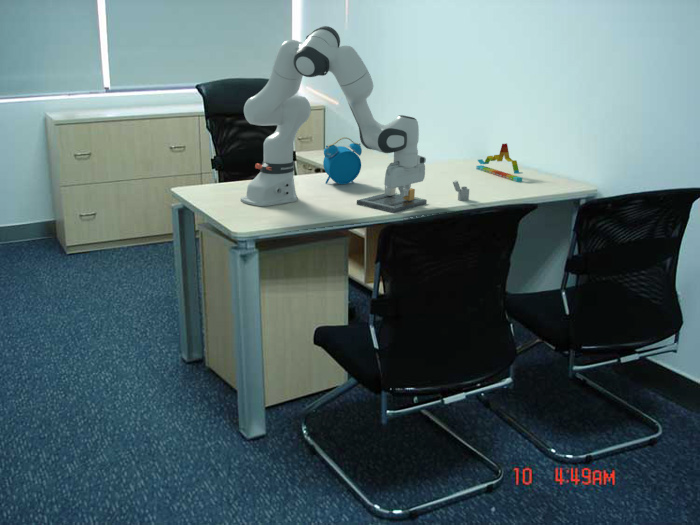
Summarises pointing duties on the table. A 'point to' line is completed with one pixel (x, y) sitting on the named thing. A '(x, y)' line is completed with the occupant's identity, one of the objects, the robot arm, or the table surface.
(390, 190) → the white small block
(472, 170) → the table surface
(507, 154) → the chart
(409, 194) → the orange wooden block
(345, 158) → the alarm clock
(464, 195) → the lighter
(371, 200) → the dark grey tray
